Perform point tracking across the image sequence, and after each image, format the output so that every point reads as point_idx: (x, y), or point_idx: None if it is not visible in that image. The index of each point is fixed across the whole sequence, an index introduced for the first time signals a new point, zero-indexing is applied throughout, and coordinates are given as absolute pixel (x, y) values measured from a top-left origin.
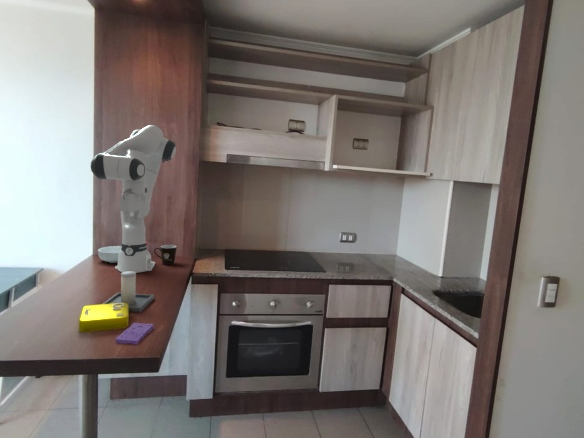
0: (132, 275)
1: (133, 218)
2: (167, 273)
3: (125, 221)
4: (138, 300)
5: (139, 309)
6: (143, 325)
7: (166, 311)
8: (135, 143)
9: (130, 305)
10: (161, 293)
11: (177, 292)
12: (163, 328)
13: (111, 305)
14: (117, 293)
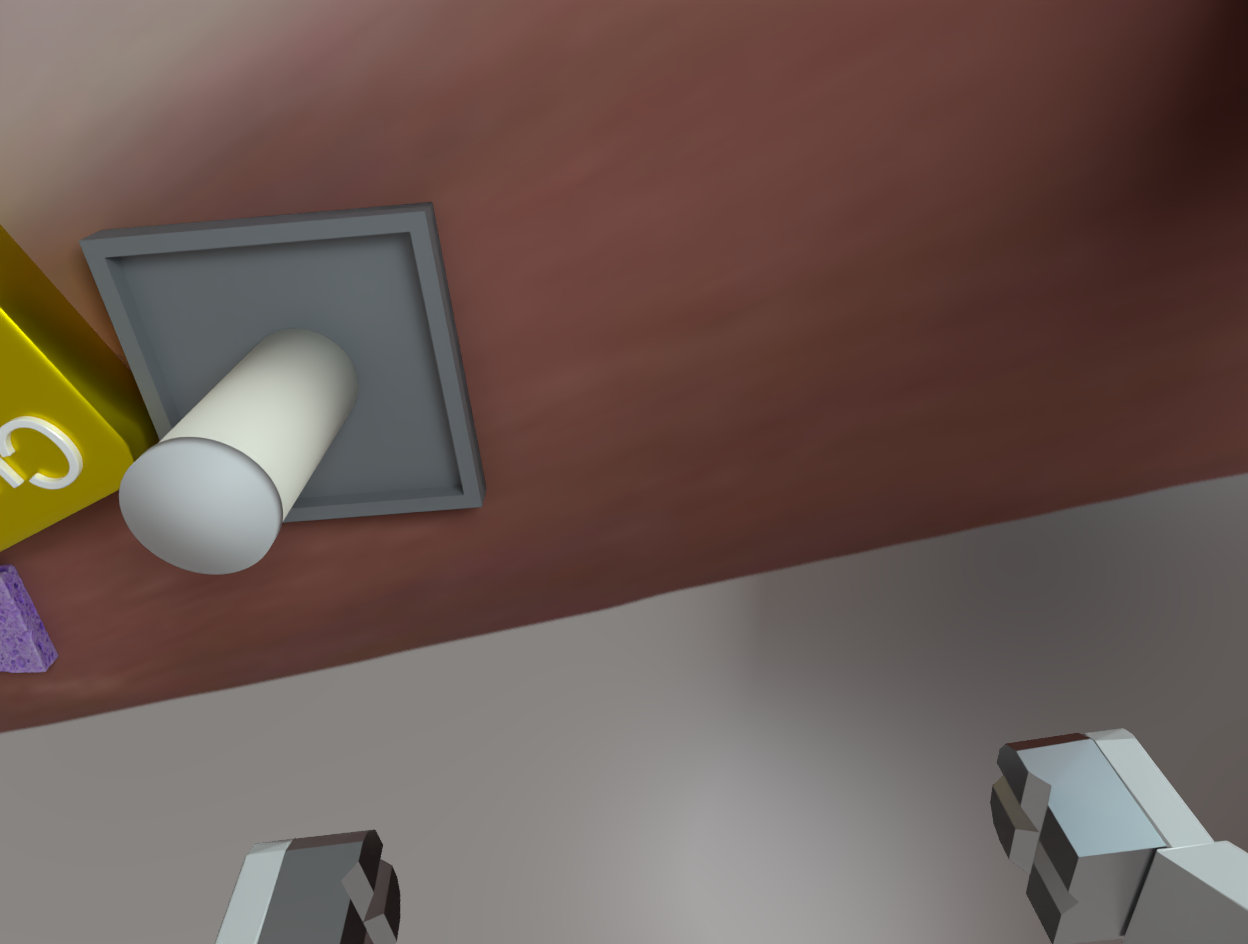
0: (178, 560)
1: (1020, 782)
2: (1222, 327)
3: (258, 860)
4: (374, 428)
5: None
6: (1, 634)
7: (305, 635)
8: None
9: None
10: (622, 491)
11: (673, 579)
12: (81, 698)
13: (17, 401)
14: (404, 223)
